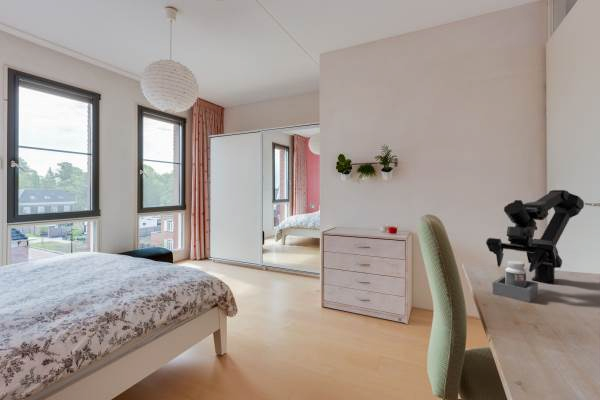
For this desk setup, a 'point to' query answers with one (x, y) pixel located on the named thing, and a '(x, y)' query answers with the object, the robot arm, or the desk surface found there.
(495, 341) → the desk surface
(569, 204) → the robot arm
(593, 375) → the desk surface
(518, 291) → the bottle holder
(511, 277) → the pill bottle
